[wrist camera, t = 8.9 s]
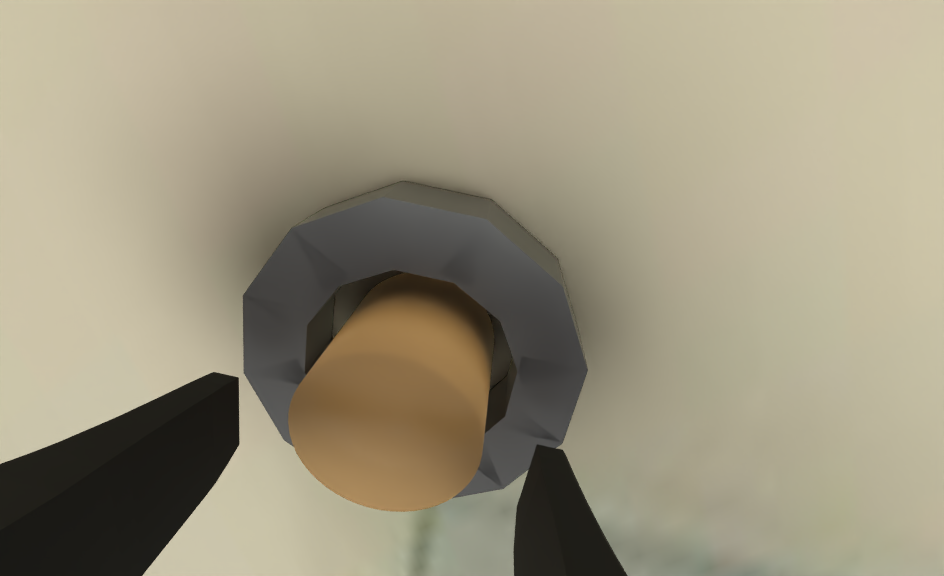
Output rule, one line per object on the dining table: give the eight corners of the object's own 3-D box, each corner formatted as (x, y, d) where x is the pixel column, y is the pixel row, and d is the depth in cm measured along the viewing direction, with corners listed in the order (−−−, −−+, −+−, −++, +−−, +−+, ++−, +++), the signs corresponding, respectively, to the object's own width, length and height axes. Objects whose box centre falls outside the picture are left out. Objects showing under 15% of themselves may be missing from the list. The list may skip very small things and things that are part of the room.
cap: (511, 294, 15) (506, 385, 10) (474, 411, 17) (457, 530, 12) (366, 255, 15) (297, 329, 10) (345, 376, 17) (280, 483, 12)
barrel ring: (614, 225, 14) (629, 249, 12) (532, 476, 18) (533, 526, 16) (282, 155, 14) (241, 166, 12) (275, 419, 18) (244, 461, 16)
